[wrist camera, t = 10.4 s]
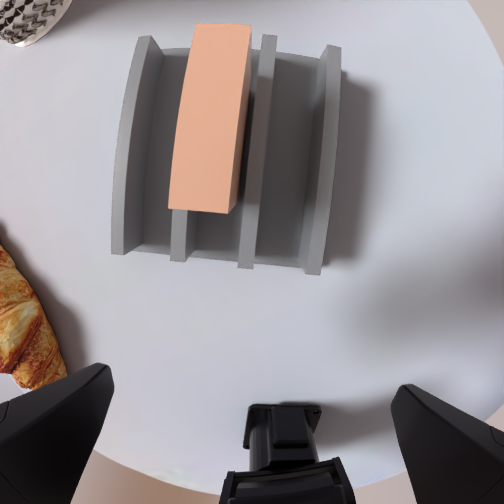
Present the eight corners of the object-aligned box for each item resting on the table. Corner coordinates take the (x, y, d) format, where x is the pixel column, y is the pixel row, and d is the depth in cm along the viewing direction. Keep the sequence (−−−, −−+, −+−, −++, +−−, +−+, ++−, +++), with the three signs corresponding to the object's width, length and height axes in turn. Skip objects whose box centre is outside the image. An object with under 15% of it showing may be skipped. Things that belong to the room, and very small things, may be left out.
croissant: (-2, 224, 21) (-54, 249, 15) (7, 188, 16) (-66, 218, 9) (76, 387, 25) (32, 421, 19) (110, 405, 20) (54, 454, 13)
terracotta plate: (238, 201, 17) (227, 213, 9) (205, 198, 17) (167, 208, 9) (251, 91, 15) (251, 25, 7) (218, 89, 15) (196, 23, 7)
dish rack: (315, 265, 19) (330, 285, 15) (128, 246, 18) (101, 261, 14) (334, 68, 16) (352, 44, 12) (150, 56, 15) (130, 32, 11)
